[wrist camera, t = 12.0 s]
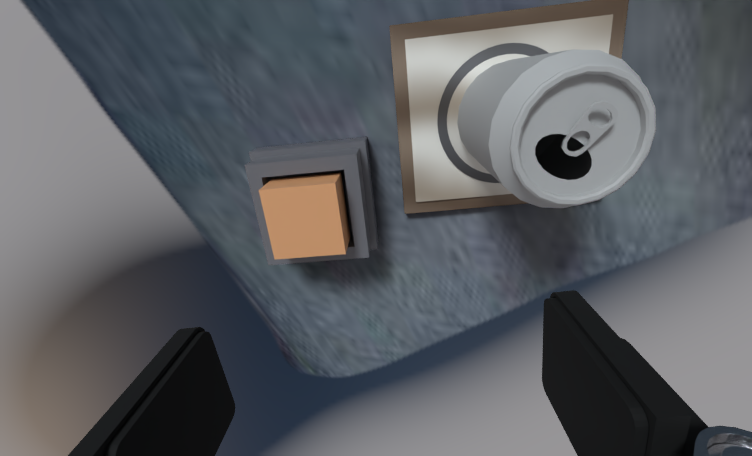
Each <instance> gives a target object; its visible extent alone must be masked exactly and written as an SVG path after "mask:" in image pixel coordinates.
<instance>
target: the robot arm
mask: <svg viewBox="0 0 752 456" xmlns="http://www.w3.org/2000/svg"><path fill="white" fill-rule="evenodd" d="M543 323H544V324H543V365H542V366H543V367H542V382H543V386H544V390H545V392H546V395H547V396H548V398H549V400H550V402H551V404H552V406H553V408H554V410H555V412H556V414H557V416H558V418H559V420H560V422H561V424H562V426H563V428H564V430H565V431H566V434H567V436H568V437H569V439H570V442H571V443H572V445H573V447H574V449H575V451H576V453H577V455H578V456H752V432H749V431H745V430H742V429H738V428H735V427H726V426H715V427H708V426H707V425H706V424H705V423H704V422H703V421H702V420H701V419H700V418H699V417H698V415H696V413H695V412H694V411H693V410H692V409H691V408H690V407H689V406H688V405H687V404H686V403H685V402H684V401H683V400H682V398H681V397H680V396H679V395H678V394H677V393H676V392H675V391H674V390H673V389H672V388H671V387H670V386H669V385H668V384H667V382H666V381H665V380H664V379H663V378H662V377H661V376H660V375H659V374H658V373H657V372H656V371H655V370H654V369H653V368H652V367H651V366H650V365H649V363H648V362H647V361H646V360H645V359H644V358H643V357H642V356H641V355H640V354H639V353H638V352H637V351H636V349H635V348H634V347H633V346H632V345H631V344H630V343H629V342H627V341H626V340H625V339H622V338H620V337H619V336H618V335H617V334H616V333H615V332H614V331H613V330H612V329H611V328H610V327H609V326H608V324H607V323H606V322H605V321H604V320H603V319H602V318H601V317H600V316H599V315H598V314H597V312H596V311H594V309H593V308H592V307H591V306H590V305H589V304H588V303H587V302H586V301H585V299H583V297H582V296H581V295H580V294H579V293H578V292H577V291H564V292H553V293H552V294H551V296H550V298H549V299H545V301H544V321H543ZM234 413H235V403H234V400H233V397H232V394H231V391H230V388H229V385H228V383H227V380H226V377H225V374H224V371H223V368H222V365H221V363H220V360H219V357H218V354H217V351H216V348H215V345H214V343H213V340H212V337H211V335H210V333H209V332H205V330H204V329H203V328H201V327H195V328H186V329H180V330H178V331H177V332H176V333H175V334H174V335H173V337H172V338H171V339H170V340H169V341H168V342H167V343H166V345H165V346H164V347H163V348H162V349H161V350H160V351H159V353H158V354H157V355H156V356H155V357H154V358H153V359H152V361H151V362H150V363H149V364H148V365H147V366H146V367H145V368H144V370H143V371H142V372H141V373H140V374H139V375H138V376H137V378H136V379H135V380H134V381H133V382H132V383H131V384H130V386H129V387H128V388H127V389H126V390H125V391H124V393H123V394H122V395H121V396H120V397H119V398H118V399H117V400H116V402H115V403H114V404H113V405H112V406H111V407H110V408H109V410H108V411H107V412H106V413H105V414H104V415H103V417H102V418H101V419H100V420H99V421H98V422H97V424H95V425H94V427H93V428H92V429H91V430H90V431H89V432H88V434H87V435H86V436H85V437H84V438H83V439H82V440H81V441H80V443H79V444H78V445H77V446H76V447H75V448H74V449H73V451H72V452H71V453H70V454H69V455H68V456H215V454H216V452H217V450H218V448H219V446H220V444H221V442H222V440H223V437H224V435H225V433H226V431H227V429H228V427H229V425H230V423H231V421H232V419H233V416H234Z"/></svg>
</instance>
